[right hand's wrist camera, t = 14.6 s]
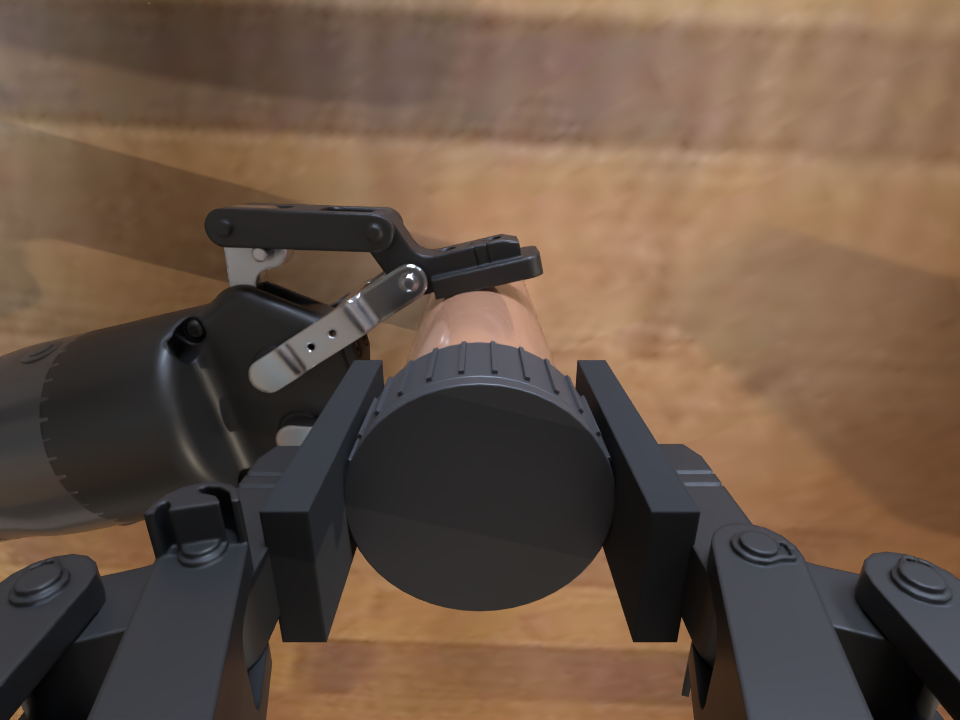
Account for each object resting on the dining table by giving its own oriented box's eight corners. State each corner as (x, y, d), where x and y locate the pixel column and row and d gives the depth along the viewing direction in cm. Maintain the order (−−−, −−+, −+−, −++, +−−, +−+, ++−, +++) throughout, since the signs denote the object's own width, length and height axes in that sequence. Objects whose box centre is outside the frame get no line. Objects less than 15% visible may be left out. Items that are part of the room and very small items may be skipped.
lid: (341, 354, 12) (308, 398, 9) (589, 323, 11) (615, 362, 9) (388, 550, 14) (370, 625, 11) (600, 528, 13) (624, 601, 11)
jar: (500, 234, 24) (532, 346, 10) (543, 320, 26) (627, 528, 11) (414, 281, 25) (321, 449, 10) (460, 361, 27) (437, 607, 12)
